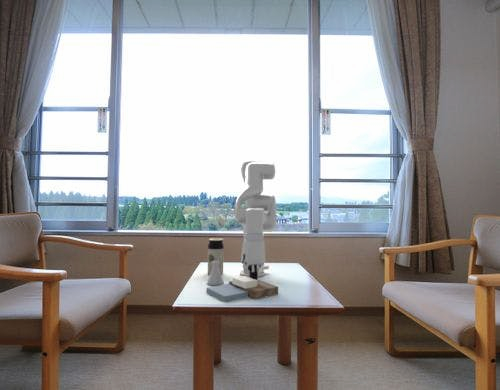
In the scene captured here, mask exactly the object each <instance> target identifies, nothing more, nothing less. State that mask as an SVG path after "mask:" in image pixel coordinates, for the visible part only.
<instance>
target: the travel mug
mask: <svg viewBox="0 0 500 390" xmlns="http://www.w3.org/2000/svg"><path fill="white" fill-rule="evenodd" d="M208 241H209V243H208V244H207V274H208V275H209V276H210V274H211V271H212V267H213V263H212V262H213V261H218V262H219V271H220V274H221V275H223V274H224V244H223V241H224V238H220V237H211V238H209V239H208Z"/></svg>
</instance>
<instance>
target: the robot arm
mask: <svg viewBox="0 0 500 390" xmlns="http://www.w3.org/2000/svg"><path fill="white" fill-rule="evenodd" d="M240 172H241V176H242V179H243V182H244V185H245V189H243V190H242V191H241V192H240V193H239V194H238V197H236V200H235V206H234V207H235V208H234V220H235V221H236V223H237V224H239V225H242V231H243V242H242V247H241V254H240V256H241V257H240V261H241V264H242V268H243V270H241V271H240V272H239V273H240V276H246V277H249V278H252V279H256V280H258V278H260V277H264V276H265V274H266V272H265V270H269V269H270V266H269V265H265V262H266V246H265V245H266V244H265V240H264V238H265V234H264V233H265V232H267V233H268V232H269V233H270V232H274V231H275V230H276V228H277V203H276V198H275V196H274V194H272V193H263V191H264V180H273V179H274V178H275V176H276V167H275V163H274V162H273V161H272V160H270V159H267V160H266V159H246V160H244V161H242V162H241V164H240ZM244 203H245V207H244V206H242V205H243V204H244Z"/></svg>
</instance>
